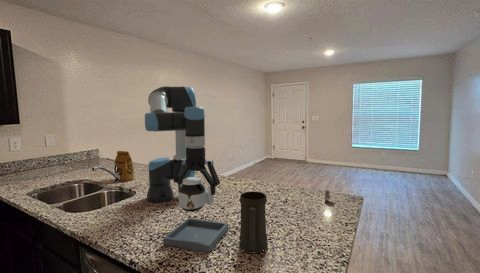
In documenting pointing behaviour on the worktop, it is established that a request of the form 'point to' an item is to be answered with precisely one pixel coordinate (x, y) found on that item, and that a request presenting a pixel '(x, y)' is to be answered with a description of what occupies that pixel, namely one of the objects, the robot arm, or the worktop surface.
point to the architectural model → (327, 196)
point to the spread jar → (193, 194)
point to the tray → (196, 235)
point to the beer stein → (253, 222)
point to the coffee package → (124, 166)
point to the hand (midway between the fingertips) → (196, 201)
